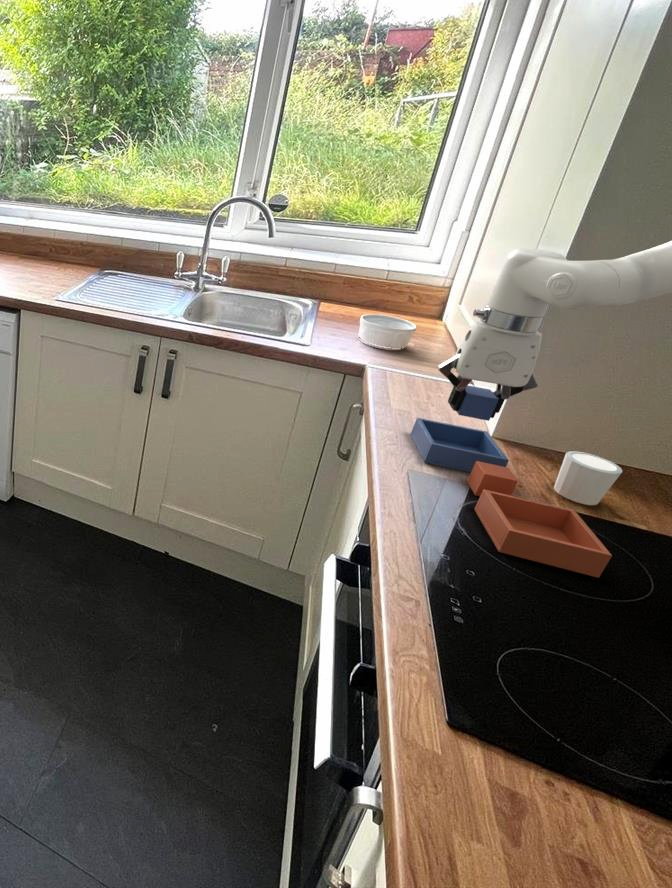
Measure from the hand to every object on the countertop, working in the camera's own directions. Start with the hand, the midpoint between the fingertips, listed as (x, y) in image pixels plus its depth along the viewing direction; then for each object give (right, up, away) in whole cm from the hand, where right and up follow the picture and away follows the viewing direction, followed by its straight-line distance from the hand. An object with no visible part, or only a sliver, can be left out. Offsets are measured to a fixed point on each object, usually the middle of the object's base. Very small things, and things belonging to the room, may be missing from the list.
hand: (471, 410), depth 109 cm
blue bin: (0, -9, +4) cm, 10 cm away
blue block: (0, 0, 0) cm, 1 cm away
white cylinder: (+12, -14, -7) cm, 20 cm away
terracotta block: (-4, -14, -7) cm, 16 cm away
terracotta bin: (-7, -18, -19) cm, 27 cm away
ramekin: (+27, +13, +60) cm, 67 cm away
